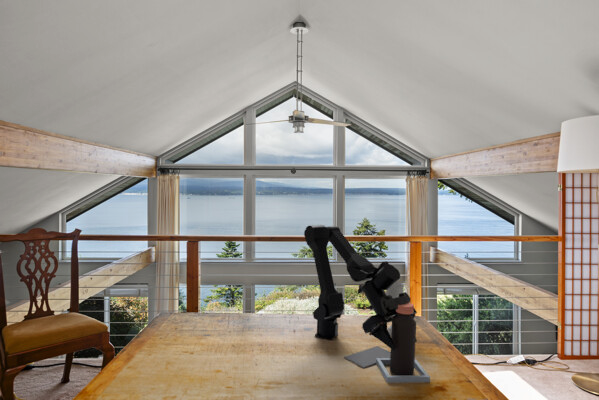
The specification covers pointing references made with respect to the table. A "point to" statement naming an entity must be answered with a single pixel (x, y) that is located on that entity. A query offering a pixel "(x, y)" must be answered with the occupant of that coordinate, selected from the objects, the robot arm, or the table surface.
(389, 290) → the chalice
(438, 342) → the table surface
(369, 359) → the mat
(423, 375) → the bottle holder
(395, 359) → the vinegar
